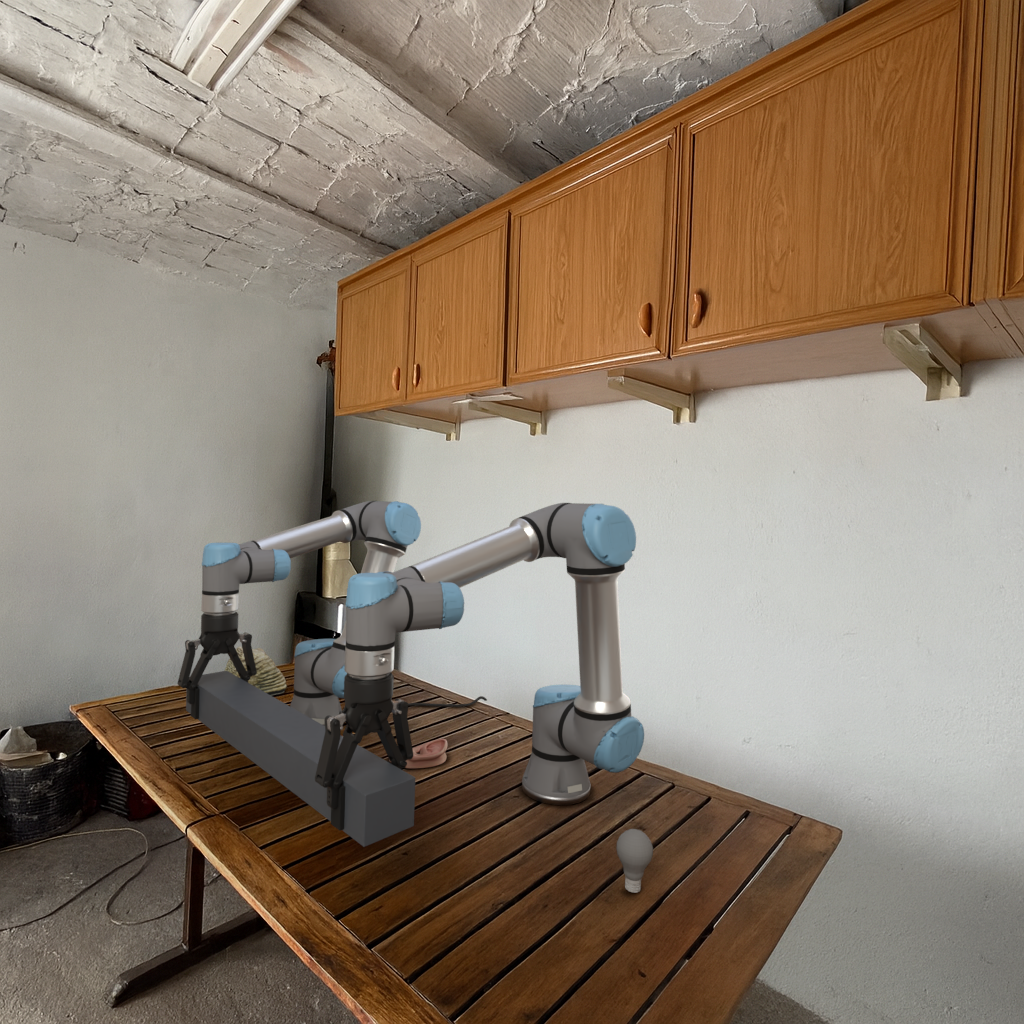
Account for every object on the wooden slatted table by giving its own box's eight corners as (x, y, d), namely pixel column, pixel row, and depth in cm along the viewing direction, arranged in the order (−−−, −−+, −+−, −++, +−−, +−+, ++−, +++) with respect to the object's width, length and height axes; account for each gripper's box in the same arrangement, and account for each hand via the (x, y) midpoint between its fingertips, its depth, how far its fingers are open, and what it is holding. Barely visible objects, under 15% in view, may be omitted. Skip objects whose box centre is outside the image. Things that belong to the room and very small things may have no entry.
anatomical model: (384, 748, 150) (402, 731, 161) (383, 765, 150) (401, 747, 161) (437, 755, 147) (452, 738, 159) (437, 772, 148) (451, 753, 159)
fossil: (218, 695, 195) (220, 647, 195) (278, 685, 208) (279, 640, 207) (228, 703, 189) (230, 653, 188) (289, 692, 201) (290, 645, 201)
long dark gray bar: (185, 710, 143) (186, 677, 143) (226, 702, 150) (226, 670, 149) (363, 847, 91) (365, 795, 91) (414, 826, 98) (415, 777, 97)
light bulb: (610, 879, 108) (613, 822, 108) (644, 879, 109) (647, 822, 109) (619, 902, 102) (622, 840, 102) (655, 901, 103) (658, 840, 103)
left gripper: (172, 620, 131) (170, 728, 131) (274, 609, 146) (272, 706, 147) (161, 614, 136) (159, 718, 137) (260, 604, 151) (258, 698, 152)
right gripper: (317, 692, 88) (312, 851, 89) (439, 666, 104) (434, 802, 104) (292, 680, 94) (287, 830, 94) (411, 657, 109) (407, 786, 110)
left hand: (217, 712), depth 142 cm, fingers closed on long dark gray bar, 9 cm apart
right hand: (365, 815), depth 99 cm, fingers closed on long dark gray bar, 9 cm apart
